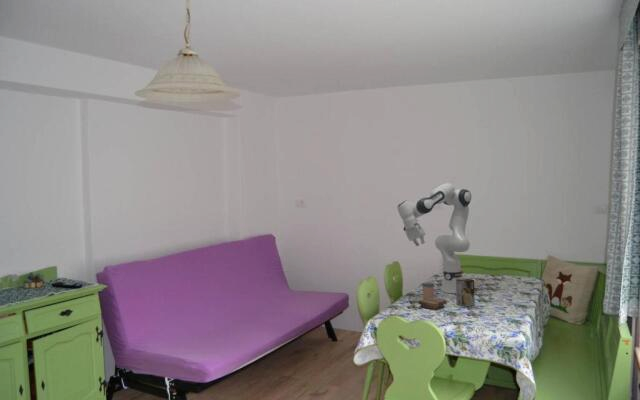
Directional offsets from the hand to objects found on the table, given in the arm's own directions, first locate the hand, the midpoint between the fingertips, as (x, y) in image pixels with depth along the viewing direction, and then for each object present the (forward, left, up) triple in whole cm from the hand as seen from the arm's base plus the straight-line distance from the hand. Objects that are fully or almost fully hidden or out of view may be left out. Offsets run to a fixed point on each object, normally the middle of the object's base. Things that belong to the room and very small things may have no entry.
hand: (420, 244), depth 324 cm
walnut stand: (+11, +15, -36) cm, 40 cm away
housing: (0, +6, -36) cm, 37 cm away
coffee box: (-7, +28, -36) cm, 46 cm away
